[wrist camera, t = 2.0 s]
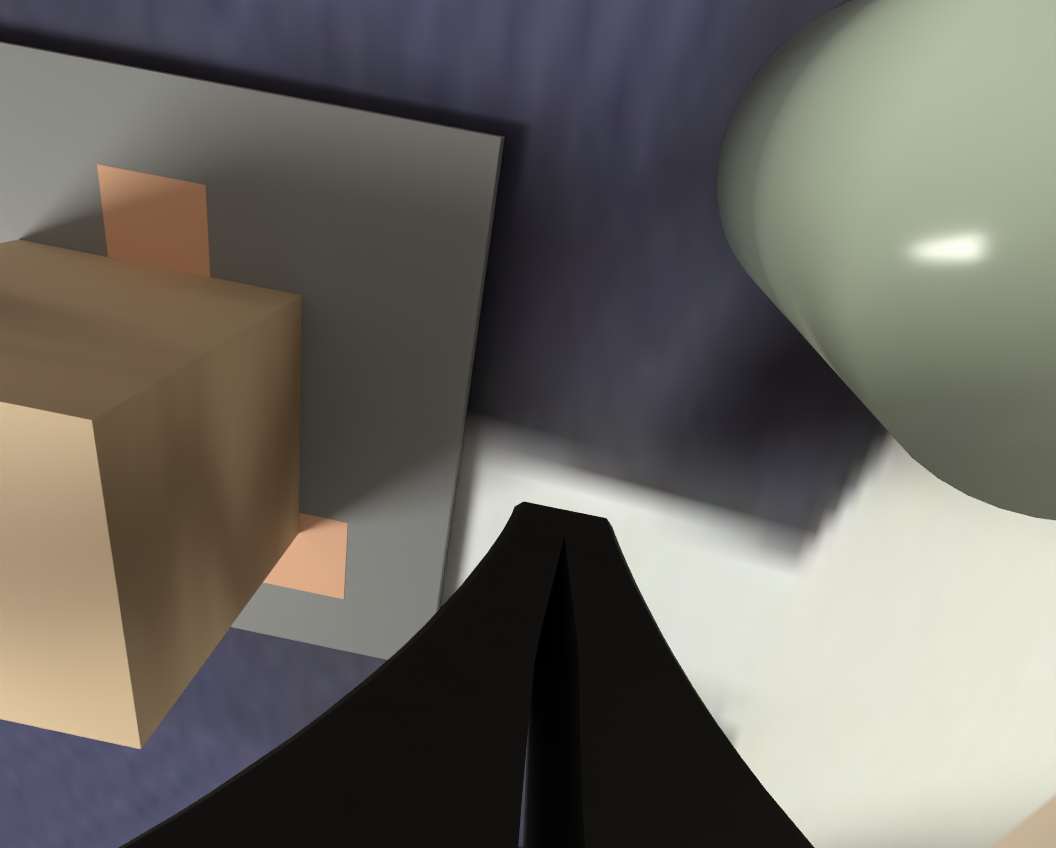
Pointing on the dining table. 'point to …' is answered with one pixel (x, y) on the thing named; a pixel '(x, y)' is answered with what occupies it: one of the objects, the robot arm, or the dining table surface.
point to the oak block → (135, 479)
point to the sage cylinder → (915, 224)
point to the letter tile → (295, 267)
